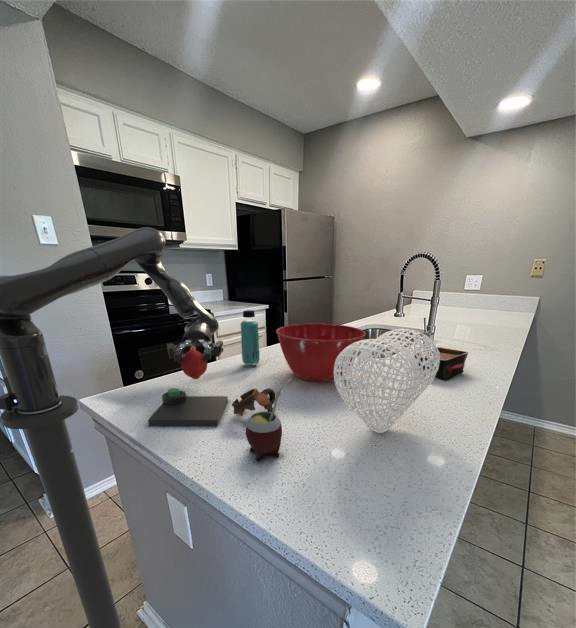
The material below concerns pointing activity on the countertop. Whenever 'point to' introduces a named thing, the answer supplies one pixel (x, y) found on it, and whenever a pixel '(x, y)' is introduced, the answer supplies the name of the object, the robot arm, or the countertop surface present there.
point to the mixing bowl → (316, 348)
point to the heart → (414, 387)
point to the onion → (193, 363)
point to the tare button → (173, 392)
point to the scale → (189, 410)
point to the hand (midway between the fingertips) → (192, 358)
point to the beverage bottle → (249, 339)
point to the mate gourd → (265, 431)
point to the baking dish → (448, 363)
